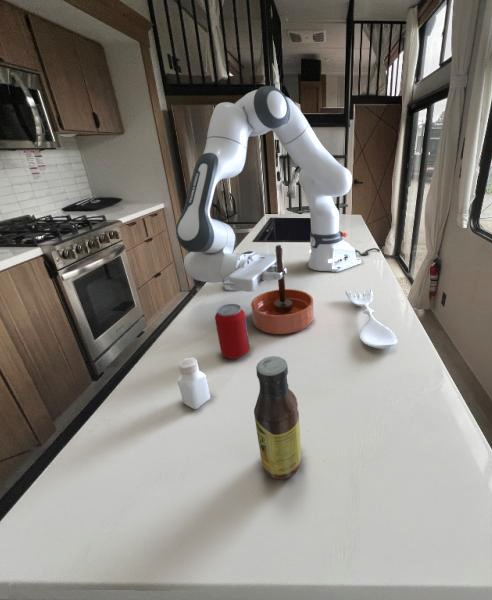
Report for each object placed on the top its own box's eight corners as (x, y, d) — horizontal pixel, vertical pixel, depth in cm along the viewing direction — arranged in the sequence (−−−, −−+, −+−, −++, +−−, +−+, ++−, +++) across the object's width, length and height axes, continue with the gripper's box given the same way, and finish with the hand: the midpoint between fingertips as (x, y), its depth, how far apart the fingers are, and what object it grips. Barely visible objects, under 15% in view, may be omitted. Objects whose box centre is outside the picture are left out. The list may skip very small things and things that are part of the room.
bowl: (296, 301, 104) (295, 284, 101) (325, 324, 91) (324, 304, 88) (244, 316, 96) (242, 298, 93) (268, 343, 83) (266, 322, 80)
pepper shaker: (195, 411, 62) (185, 371, 58) (182, 403, 64) (171, 364, 60) (212, 398, 65) (203, 359, 61) (198, 391, 67) (189, 353, 63)
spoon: (371, 296, 106) (372, 287, 104) (401, 353, 77) (403, 341, 76) (344, 298, 105) (344, 288, 104) (364, 355, 77) (365, 343, 75)
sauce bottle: (263, 448, 54) (249, 349, 45) (301, 445, 54) (294, 346, 46) (260, 486, 48) (244, 380, 39) (302, 482, 48) (295, 376, 40)
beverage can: (254, 347, 81) (249, 304, 76) (240, 363, 75) (233, 318, 70) (231, 343, 83) (224, 301, 78) (215, 358, 77) (207, 313, 72)
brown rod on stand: (287, 303, 97) (283, 241, 88) (295, 310, 93) (291, 245, 84) (271, 307, 94) (265, 244, 86) (279, 315, 90) (273, 249, 82)
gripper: (216, 272, 82) (267, 276, 78) (253, 248, 99) (295, 251, 96) (220, 294, 84) (269, 300, 81) (255, 268, 102) (296, 271, 99)
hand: (283, 273), depth 88 cm, fingers closed on brown rod on stand
